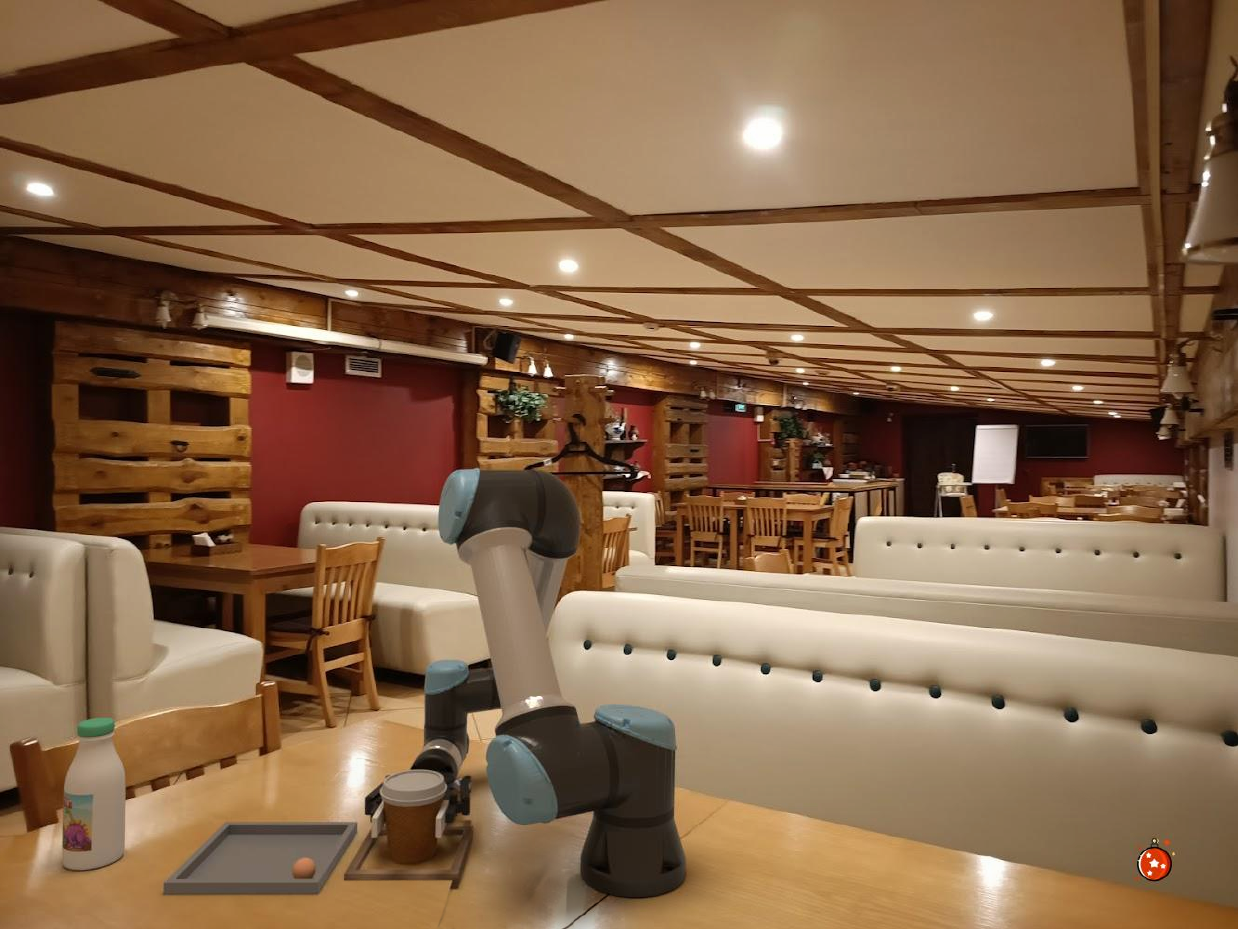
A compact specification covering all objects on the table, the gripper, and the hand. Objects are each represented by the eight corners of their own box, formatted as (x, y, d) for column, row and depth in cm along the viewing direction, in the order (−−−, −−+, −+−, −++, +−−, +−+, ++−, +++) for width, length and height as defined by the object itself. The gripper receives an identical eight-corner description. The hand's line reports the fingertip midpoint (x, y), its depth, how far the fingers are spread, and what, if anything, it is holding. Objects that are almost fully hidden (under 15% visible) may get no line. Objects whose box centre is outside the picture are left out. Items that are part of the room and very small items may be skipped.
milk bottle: (116, 842, 129) (118, 710, 129) (131, 860, 123) (133, 722, 123) (56, 858, 123) (58, 720, 123) (69, 877, 118) (71, 733, 118)
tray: (356, 839, 131) (357, 822, 131) (317, 903, 112) (318, 882, 112) (225, 839, 130) (225, 822, 130) (163, 903, 111) (163, 882, 111)
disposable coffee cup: (429, 881, 118) (430, 795, 118) (366, 873, 120) (367, 788, 120) (455, 851, 128) (457, 771, 128) (396, 844, 130) (398, 765, 130)
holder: (472, 839, 132) (472, 826, 132) (457, 888, 117) (457, 874, 117) (372, 839, 131) (372, 826, 131) (343, 888, 116) (344, 874, 116)
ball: (318, 875, 117) (318, 853, 117) (311, 886, 114) (311, 864, 114) (296, 875, 117) (296, 853, 117) (288, 886, 114) (289, 864, 114)
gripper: (498, 792, 142) (481, 854, 120) (371, 792, 142) (330, 854, 119) (499, 747, 142) (482, 801, 120) (372, 747, 142) (330, 801, 119)
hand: (406, 828), depth 119 cm, fingers closed on disposable coffee cup, 8 cm apart
